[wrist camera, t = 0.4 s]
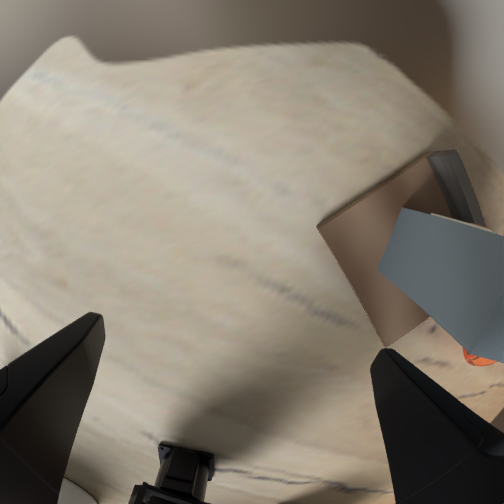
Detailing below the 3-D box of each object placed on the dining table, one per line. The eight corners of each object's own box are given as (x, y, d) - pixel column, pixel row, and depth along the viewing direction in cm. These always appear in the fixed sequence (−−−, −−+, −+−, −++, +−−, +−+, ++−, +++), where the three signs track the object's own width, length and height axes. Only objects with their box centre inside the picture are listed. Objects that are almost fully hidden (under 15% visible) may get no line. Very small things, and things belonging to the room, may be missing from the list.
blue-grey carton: (431, 292, 21) (524, 367, 9) (376, 269, 21) (470, 354, 9) (456, 234, 20) (565, 279, 8) (402, 204, 19) (523, 237, 8)
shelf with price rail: (381, 341, 23) (398, 367, 19) (316, 226, 21) (328, 237, 17) (475, 270, 21) (501, 284, 18) (429, 151, 19) (457, 148, 15)
